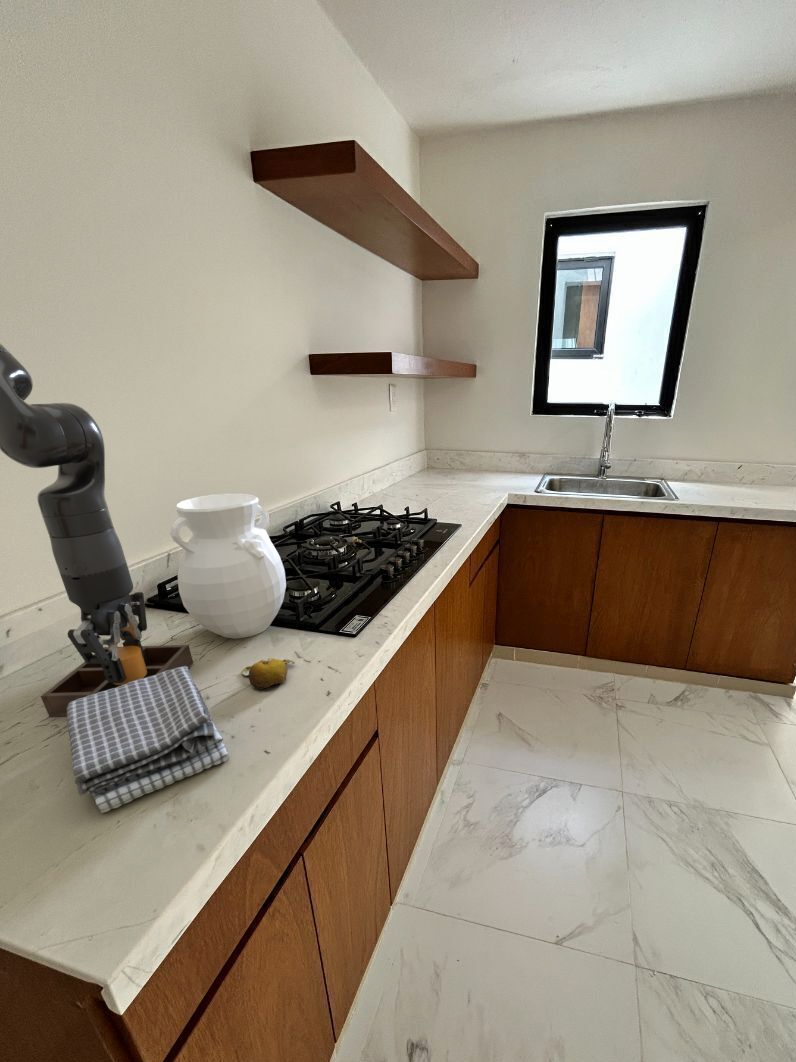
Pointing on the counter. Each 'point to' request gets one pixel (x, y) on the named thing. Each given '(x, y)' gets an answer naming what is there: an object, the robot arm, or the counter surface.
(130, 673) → the orange cylinder
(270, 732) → the counter surface
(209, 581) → the white vase
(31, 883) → the counter surface
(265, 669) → the yellow rounded lumpy piece
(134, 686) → the towel
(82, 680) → the grid
